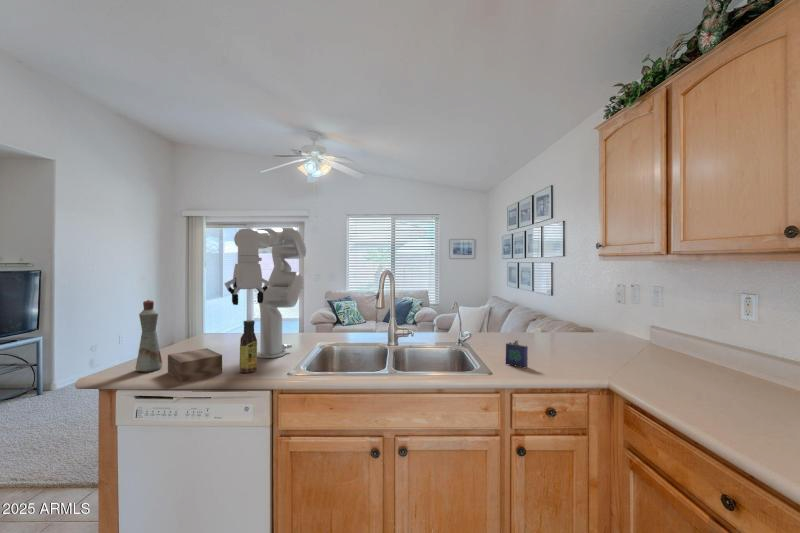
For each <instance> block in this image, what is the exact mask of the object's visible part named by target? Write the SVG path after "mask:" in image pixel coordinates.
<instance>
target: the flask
mask: <svg viewBox="0 0 800 533" xmlns="http://www.w3.org/2000/svg"><path fill="white" fill-rule="evenodd" d="M513 341H514V342H511V341H510V342H506V343H505V365H506V364H510V365H516V366H521V367H527V368H528V364H529V363H528V360H529V359H528V355H529V354H528V350H529V347H528V345H525V344H519V342H520V341H519V340H516V339H515V340H513ZM510 365H509V366H510ZM516 366H515V367H516ZM521 367H520V368H521Z"/></svg>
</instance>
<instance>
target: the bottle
mask: <svg viewBox="0 0 800 533" xmlns="http://www.w3.org/2000/svg"><path fill="white" fill-rule="evenodd" d="M142 305H143V310H142V311H141V312H140V313H139V314H138V316H139V322H140V327H141V328H140V329H141V336H140V342H139V347H138V354H137V358H136V363H135V364H136V365H135V371H136V372H143V373H144V372H145V373H146V372H147V373H148V372H149V373H150V372H153V371H159V370H160V369H162V367H163V360H162V354H161V350H160V344H159V338H158V335H157V334H158V333H157V325H158V319H159V318H158V316H159V312H158V311H157V310H155V308H154V307H155V306H154V305H155V302H154V300H150V299H147V300H144V301H143V302H142Z"/></svg>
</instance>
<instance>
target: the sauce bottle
mask: <svg viewBox="0 0 800 533" xmlns="http://www.w3.org/2000/svg"><path fill="white" fill-rule="evenodd" d="M239 340H240V343H239V344H240V345H239V372H240V373H242V374H243V373H244V374H246V373H253V372H256V371H257V365H258V364H257V363H258V357H257V353H258V338H257V337H256V333H255V320H251V319H250V320H249V319H247V320H244V321H243V333H242V335H241V337H240V339H239Z"/></svg>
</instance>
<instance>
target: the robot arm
mask: <svg viewBox="0 0 800 533" xmlns="http://www.w3.org/2000/svg"><path fill="white" fill-rule="evenodd" d="M233 242H234V245H235V246H236V247H237V263H235V264H234V269H233V276H232V279H230V280H228V281H225V282H224V286H225V288H226V290H227V291H228V292H229V293H230V295H231V303H232V305H233V306H238V305H239V294H238V293H239V291H240V290H252V289H253V290H256V292H257V294H256V295H257V296H256V298H257V300H256V301H257V303H258V306H259V314H260V315H259V316H260V323H259V324H260V326H259V328H260V330H259V331H260V333H259V334H260V337H259V338H260V347H259V348H260V350H259V352H258V351H257V358H259V359H275V358H281V357H283V356H285V355H286V349H292V348H293V345H292V343H288V344H286V343H283V315H282V313H281V311H280V310H279V309H280V308H283V309H284V308H286V309H287V308H294V307H295V306H296V305H297V304H298V301H299V297H300V293H301V291H302V288H303V282H304V281H303V280H304V279H303V276H302V274H301V273H300V272H298V271H292V266H291V264H290V263H289V262H288V261H287V260H298V259H299V260H300V259H301V260H302V259H304V258H305V257H306V255H307V247H306V244H305V242H304V239H303V236H302V235H301V233H300V231H299V229H297V228H296V227H269V228H257V229H255V228H240V229H238V230H237V232H235V234H234V238H233ZM271 247H272V248H271ZM268 248H271V257H272V262H273V268H272V271H271V273H270V276H269V278H268V280H266V279H265V278H263V274H262V273H263V272H262V267H261V263H260V262H261V261H262V260H263V258H262V257H260V255H259V249H261V250H263V249H268ZM263 284H264V285H263ZM231 285H232V287H233V288H232V287H231Z"/></svg>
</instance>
